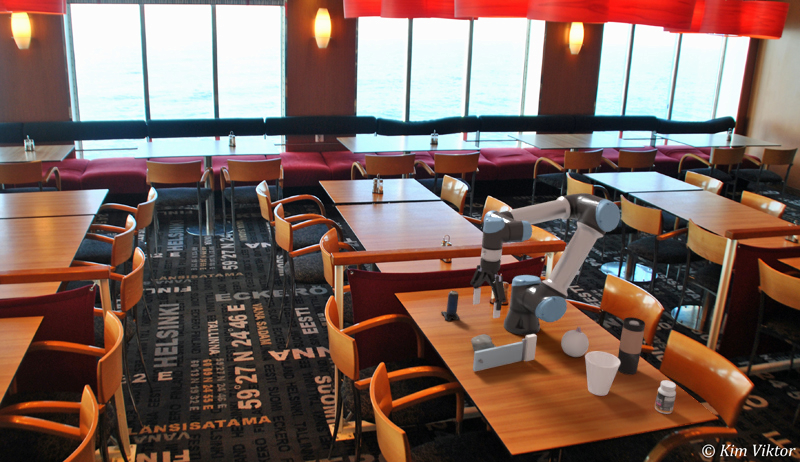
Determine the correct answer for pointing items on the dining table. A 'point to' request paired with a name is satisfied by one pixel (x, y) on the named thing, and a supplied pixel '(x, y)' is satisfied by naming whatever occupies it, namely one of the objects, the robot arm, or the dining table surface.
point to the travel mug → (630, 345)
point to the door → (499, 355)
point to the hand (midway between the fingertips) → (485, 310)
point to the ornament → (575, 343)
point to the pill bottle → (665, 397)
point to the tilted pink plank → (530, 347)
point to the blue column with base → (451, 306)
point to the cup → (600, 371)
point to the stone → (482, 342)
